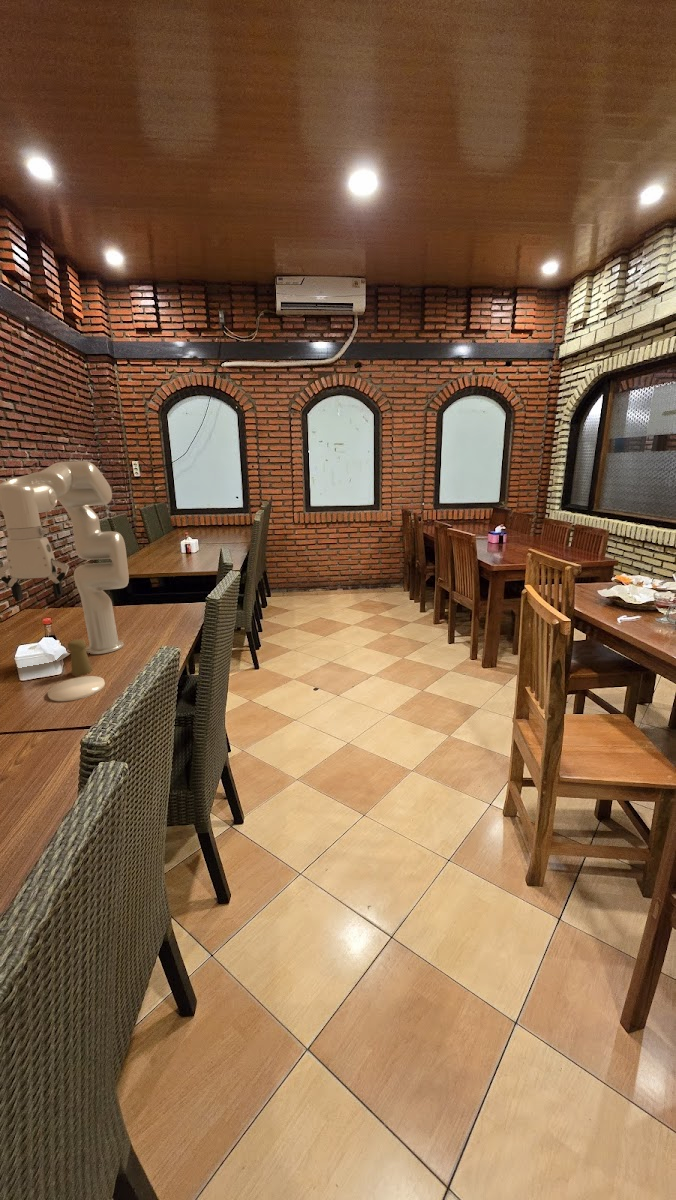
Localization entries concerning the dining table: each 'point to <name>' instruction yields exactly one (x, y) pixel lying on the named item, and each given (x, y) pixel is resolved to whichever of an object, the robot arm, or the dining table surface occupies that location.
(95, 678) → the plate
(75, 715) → the dining table surface
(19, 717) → the dining table surface
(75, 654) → the cork
